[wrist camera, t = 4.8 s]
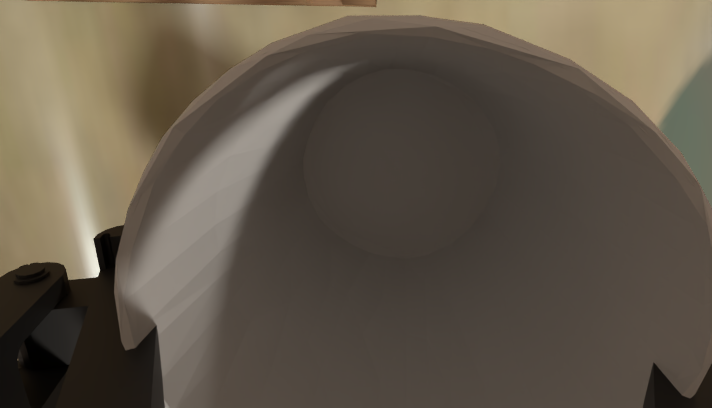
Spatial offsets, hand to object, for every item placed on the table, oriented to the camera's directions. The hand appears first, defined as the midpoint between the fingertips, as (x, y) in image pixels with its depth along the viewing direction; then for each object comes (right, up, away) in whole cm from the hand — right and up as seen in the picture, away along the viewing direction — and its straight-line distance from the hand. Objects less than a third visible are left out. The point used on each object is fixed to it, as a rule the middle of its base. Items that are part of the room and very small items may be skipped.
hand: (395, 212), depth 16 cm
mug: (0, 0, 0) cm, 1 cm away
